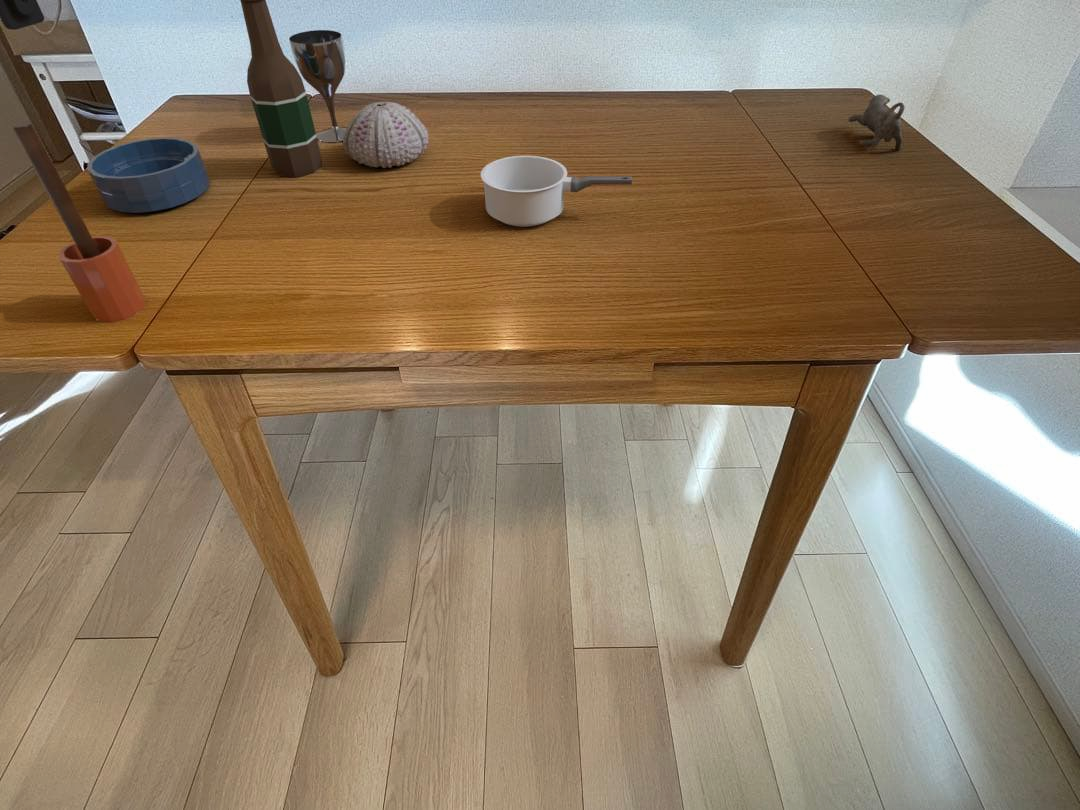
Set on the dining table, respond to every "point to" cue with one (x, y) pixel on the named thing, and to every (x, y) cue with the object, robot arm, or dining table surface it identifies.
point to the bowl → (149, 174)
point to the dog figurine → (881, 121)
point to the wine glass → (322, 70)
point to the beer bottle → (279, 98)
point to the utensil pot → (104, 280)
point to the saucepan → (532, 189)
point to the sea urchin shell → (385, 135)
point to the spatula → (55, 188)
